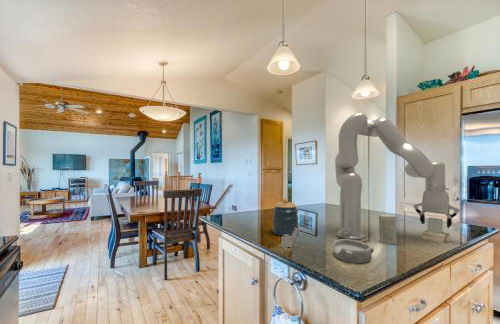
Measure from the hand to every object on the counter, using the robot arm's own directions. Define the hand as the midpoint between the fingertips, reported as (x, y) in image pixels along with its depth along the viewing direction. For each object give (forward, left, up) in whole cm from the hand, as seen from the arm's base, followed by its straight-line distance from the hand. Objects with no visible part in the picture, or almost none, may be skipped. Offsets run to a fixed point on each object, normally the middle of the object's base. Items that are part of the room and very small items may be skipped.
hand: (435, 225), depth 117 cm
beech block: (0, 0, -7) cm, 7 cm away
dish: (-50, +17, -7) cm, 53 cm away
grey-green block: (0, 0, -3) cm, 3 cm away
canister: (-42, +55, -7) cm, 69 cm away
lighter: (-58, +40, -7) cm, 71 cm away
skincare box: (-21, +14, -7) cm, 26 cm away
